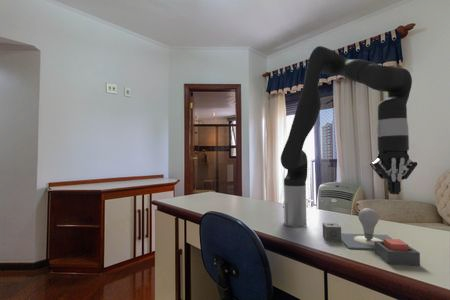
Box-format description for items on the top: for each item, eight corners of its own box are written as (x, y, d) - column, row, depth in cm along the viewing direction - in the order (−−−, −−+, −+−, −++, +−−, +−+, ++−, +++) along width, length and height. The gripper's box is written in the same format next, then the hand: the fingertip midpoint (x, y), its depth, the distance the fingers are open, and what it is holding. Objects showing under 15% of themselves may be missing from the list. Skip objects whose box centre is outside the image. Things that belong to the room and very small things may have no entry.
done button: (391, 252, 68) (391, 244, 68) (383, 246, 73) (383, 238, 73) (408, 253, 68) (408, 244, 68) (399, 247, 72) (399, 239, 72)
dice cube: (336, 236, 89) (336, 223, 89) (341, 241, 84) (341, 227, 84) (322, 236, 90) (322, 222, 90) (326, 240, 85) (326, 226, 85)
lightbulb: (379, 244, 79) (378, 211, 79) (358, 241, 82) (357, 209, 82) (378, 238, 84) (378, 207, 85) (359, 235, 88) (358, 205, 88)
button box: (388, 264, 67) (387, 251, 67) (374, 252, 75) (374, 241, 75) (420, 265, 65) (419, 252, 65) (402, 253, 73) (402, 242, 73)
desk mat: (348, 248, 78) (348, 246, 78) (335, 234, 91) (335, 232, 91) (409, 251, 75) (409, 249, 75) (386, 236, 89) (386, 234, 89)
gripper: (405, 135, 74) (406, 191, 74) (362, 136, 74) (364, 192, 74) (425, 133, 67) (427, 195, 67) (378, 134, 67) (380, 196, 67)
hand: (394, 193), depth 70 cm, fingers closed
